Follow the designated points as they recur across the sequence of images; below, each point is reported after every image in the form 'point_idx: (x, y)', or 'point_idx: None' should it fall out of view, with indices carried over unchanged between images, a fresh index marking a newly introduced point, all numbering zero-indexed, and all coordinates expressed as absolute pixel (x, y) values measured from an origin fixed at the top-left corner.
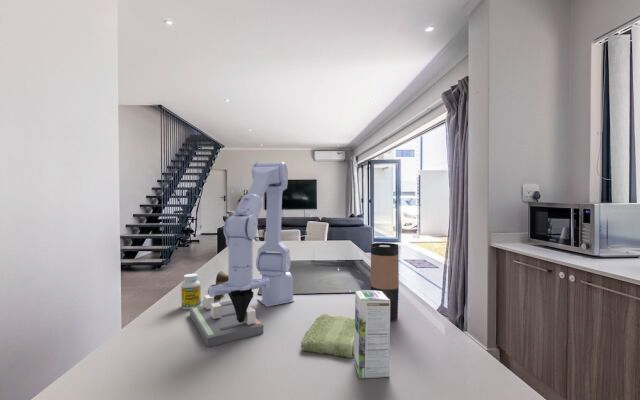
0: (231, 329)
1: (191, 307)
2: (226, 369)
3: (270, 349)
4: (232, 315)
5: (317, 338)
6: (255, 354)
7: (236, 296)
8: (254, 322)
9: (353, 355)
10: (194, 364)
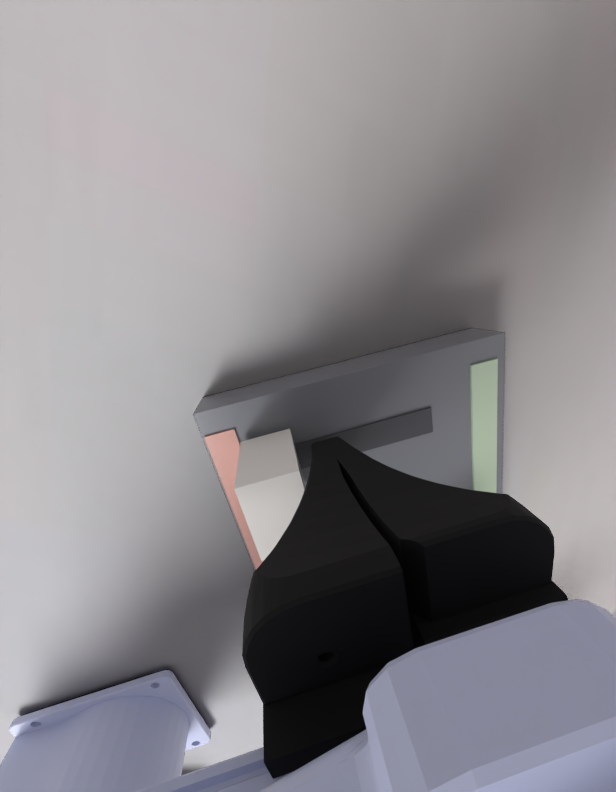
0: (378, 403)
1: None
2: (435, 18)
3: (169, 171)
4: None
5: None
6: (264, 142)
7: (510, 542)
8: (246, 442)
9: None
10: (551, 167)
